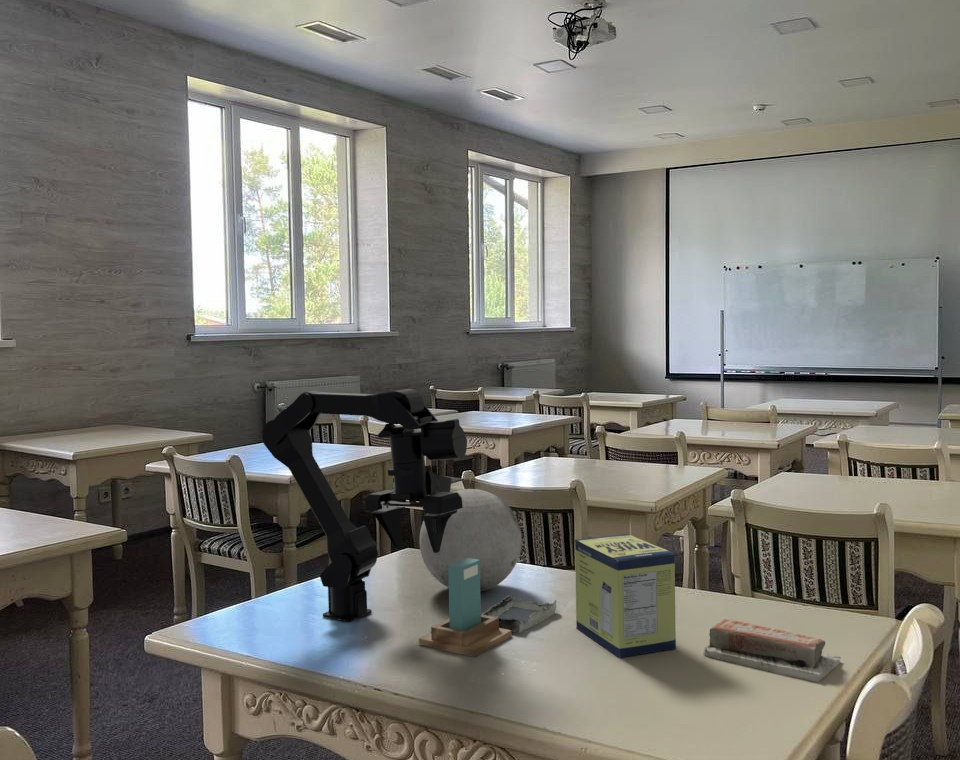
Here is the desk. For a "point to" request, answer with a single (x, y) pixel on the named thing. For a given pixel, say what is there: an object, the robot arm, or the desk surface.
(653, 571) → the protein box
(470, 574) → the teal labeled box
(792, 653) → the packaged product
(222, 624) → the desk surface
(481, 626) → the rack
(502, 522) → the moon model
